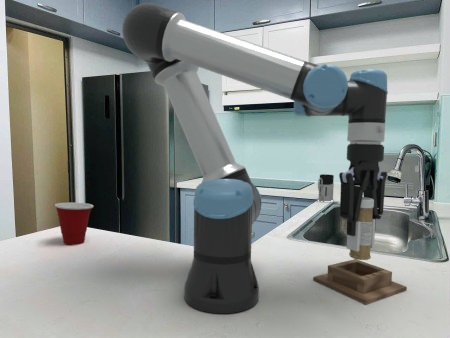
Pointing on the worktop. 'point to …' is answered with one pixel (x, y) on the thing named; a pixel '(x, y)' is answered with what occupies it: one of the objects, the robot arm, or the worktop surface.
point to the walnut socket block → (360, 281)
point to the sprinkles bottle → (364, 230)
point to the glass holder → (326, 187)
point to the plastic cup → (73, 221)
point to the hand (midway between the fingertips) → (360, 247)
